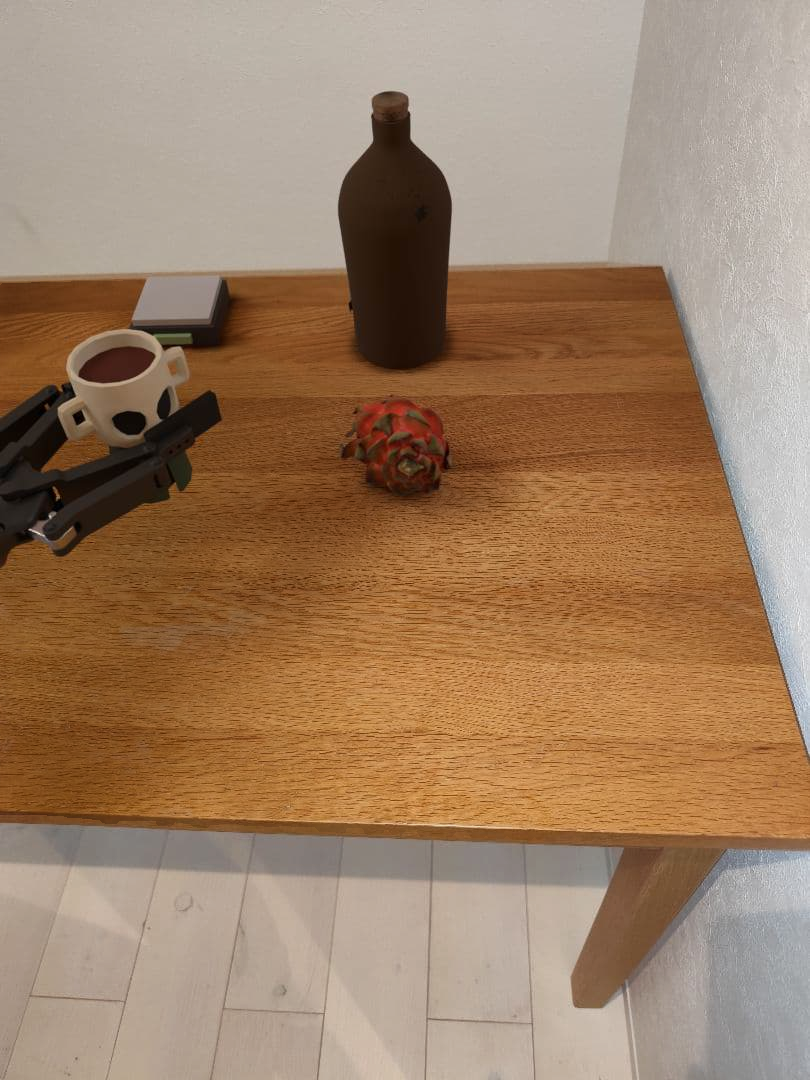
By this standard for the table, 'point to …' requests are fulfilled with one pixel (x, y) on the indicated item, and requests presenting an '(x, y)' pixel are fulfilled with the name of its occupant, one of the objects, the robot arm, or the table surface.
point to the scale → (182, 310)
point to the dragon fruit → (399, 446)
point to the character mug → (125, 393)
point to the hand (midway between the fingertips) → (183, 385)
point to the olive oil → (396, 242)
